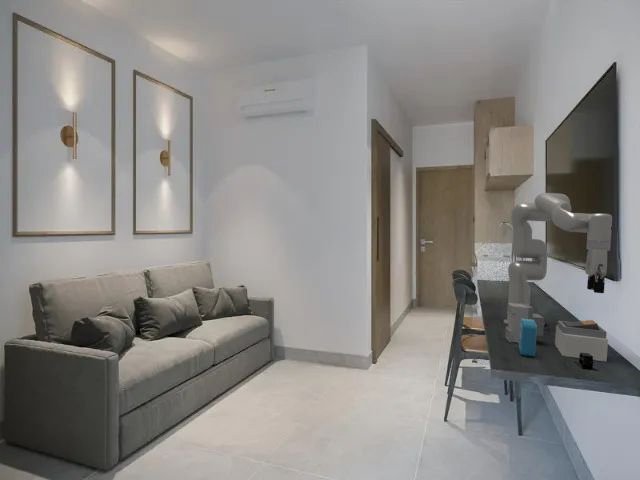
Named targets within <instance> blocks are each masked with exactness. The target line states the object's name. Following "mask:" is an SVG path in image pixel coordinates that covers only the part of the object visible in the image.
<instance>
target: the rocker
mask: <svg viewBox="0 0 640 480" xmlns="http://www.w3.org/2000/svg"><path fill="white" fill-rule="evenodd" d="M564 324H565V325H566V326H567V327H573V328H582V329H594V328H598V326H599V324H598V323H597V322H595V321H594V320H592V319H590V320H589V319H588V320H580V321H566V322H565V323H564Z"/></svg>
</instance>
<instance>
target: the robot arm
mask: <svg viewBox="0 0 640 480" xmlns="http://www.w3.org/2000/svg"><path fill="white" fill-rule="evenodd" d="M510 219H511V220H510V221H511V225H512V247H511V248H512V254H513V256H514V257H517V258H520V259H531V260H514V261H512V262H510V264H509V265H508V268H507V272H508V273H507V274H508V278H509V279H508V281H509V284H508V285H509V286H508V301H507V302H508V303H514V304H527V305H529V306H531V305H530V303H531V302H530V301H531V287H530V285H529V283H528V281H541V280H544V279H545V278H546V275H547V267H548V246H547V243H546V242H545V241H543V240H542V239H538V238H536V239H535V238H533V229H532V226H531V224H530V223H529V222H530V221H531V222H532V221H533V222H549V221H552V223H553V224H554V225H555V226H556V227H558V228H559V229H561V230H562V231H563V230H564V231H566V232H570V233H585V234H586V233H587V234H586V235H587V237H586V250H588V251H587V254H586V263H585V269H584V270H585V274H586V275H587V276H588V277H587V285H586V289H587V290H589V291H591V290H592V291H593V293H597V294H604V293H605V286H606V285H605V284H606V283H605V282H606V279H605V278H606V275H607V270H608V252H609V251H611V244H612V242H611V240H612V230H611V227H612V226H613V216H612V214H609V213H583V212H581V213H580V212H572V205H571V201H570V198H569V196H567V194H563V193H558V192H556V193H555V192H543V193H540V194H538V195H537V196H536V197H535V198H534V202H522V203H517V204H516V205H515V206H513V208H512V211H511V217H510ZM612 228H613V227H612ZM508 303H507V304H508ZM503 323H504V324H505V325H508V323H509V316H508V315H507V317H506V318H505V319H503Z"/></svg>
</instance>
